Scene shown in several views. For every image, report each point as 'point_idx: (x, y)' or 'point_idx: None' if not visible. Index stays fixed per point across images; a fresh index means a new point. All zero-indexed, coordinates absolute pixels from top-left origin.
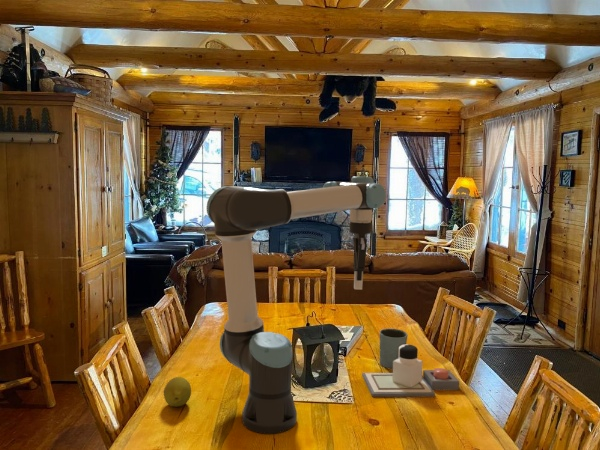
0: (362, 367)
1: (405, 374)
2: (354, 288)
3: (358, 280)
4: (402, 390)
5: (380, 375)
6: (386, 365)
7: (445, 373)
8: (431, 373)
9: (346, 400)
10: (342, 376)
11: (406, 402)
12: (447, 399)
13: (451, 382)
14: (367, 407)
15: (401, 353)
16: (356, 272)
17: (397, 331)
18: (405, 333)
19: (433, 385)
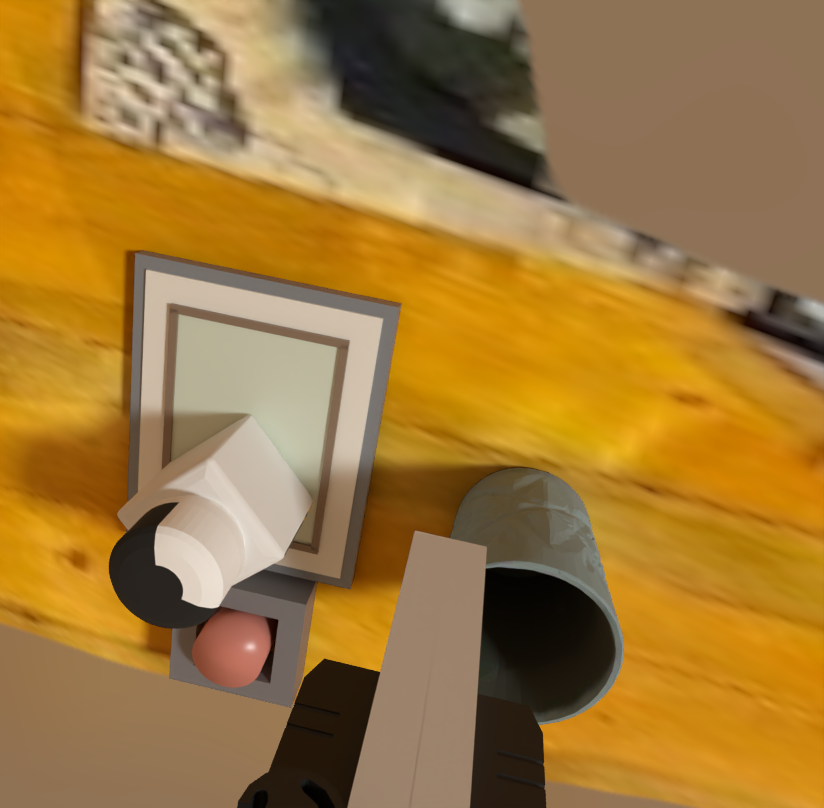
0: (517, 352)
1: (166, 473)
2: (423, 540)
3: (321, 677)
4: (154, 414)
5: (335, 387)
6: (479, 484)
7: (195, 659)
8: (279, 622)
9: (108, 93)
10: (413, 181)
11: (82, 385)
12: (106, 562)
13: (173, 645)
14: (34, 179)
15: (148, 517)
16: (353, 800)
17: (581, 695)
18: None
19: None
